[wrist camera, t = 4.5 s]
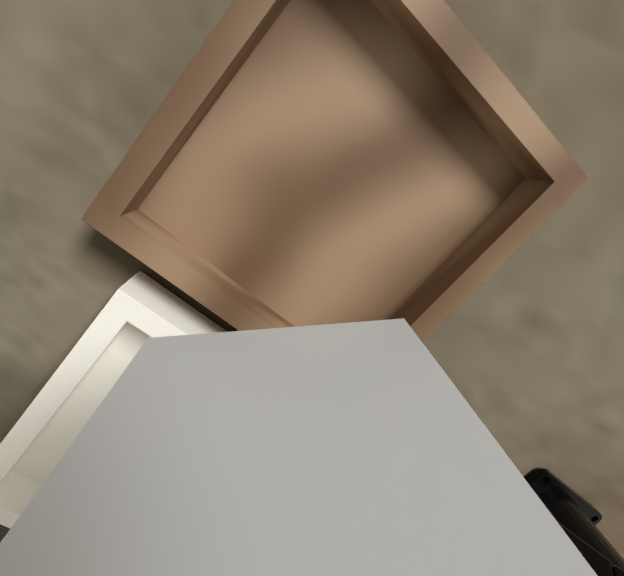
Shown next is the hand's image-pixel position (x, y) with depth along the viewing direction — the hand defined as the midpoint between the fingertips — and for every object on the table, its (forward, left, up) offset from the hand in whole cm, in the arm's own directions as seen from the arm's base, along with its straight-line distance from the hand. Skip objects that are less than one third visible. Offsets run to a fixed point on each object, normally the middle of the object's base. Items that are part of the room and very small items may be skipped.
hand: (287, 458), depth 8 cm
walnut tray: (+1, -5, -11) cm, 12 cm away
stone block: (0, 0, -1) cm, 1 cm away
